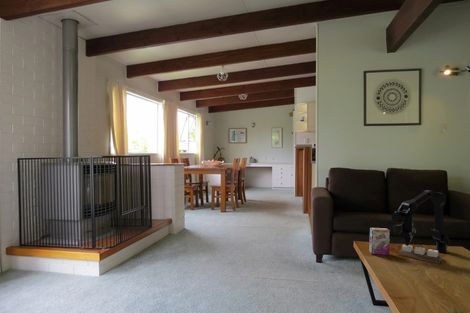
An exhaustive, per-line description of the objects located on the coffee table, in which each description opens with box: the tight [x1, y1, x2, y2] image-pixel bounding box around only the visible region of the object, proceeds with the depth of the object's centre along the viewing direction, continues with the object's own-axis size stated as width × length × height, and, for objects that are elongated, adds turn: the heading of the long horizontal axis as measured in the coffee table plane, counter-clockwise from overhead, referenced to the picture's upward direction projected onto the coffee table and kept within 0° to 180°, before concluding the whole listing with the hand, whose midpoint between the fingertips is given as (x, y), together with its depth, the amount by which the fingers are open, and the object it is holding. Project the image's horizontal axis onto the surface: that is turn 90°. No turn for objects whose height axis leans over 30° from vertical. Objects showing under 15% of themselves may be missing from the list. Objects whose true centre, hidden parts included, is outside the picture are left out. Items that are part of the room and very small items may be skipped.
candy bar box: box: [368, 227, 391, 256], centre depth 197 cm, size 11×5×16 cm, turn 84°
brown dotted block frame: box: [398, 247, 443, 264], centre depth 191 cm, size 10×22×2 cm, turn 49°
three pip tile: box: [401, 244, 413, 252], centre depth 196 cm, size 5×5×3 cm
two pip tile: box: [413, 246, 426, 255], centre depth 191 cm, size 5×5×3 cm
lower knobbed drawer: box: [426, 248, 439, 258], centre depth 187 cm, size 5×5×3 cm
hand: (407, 245), depth 196 cm, fingers closed
